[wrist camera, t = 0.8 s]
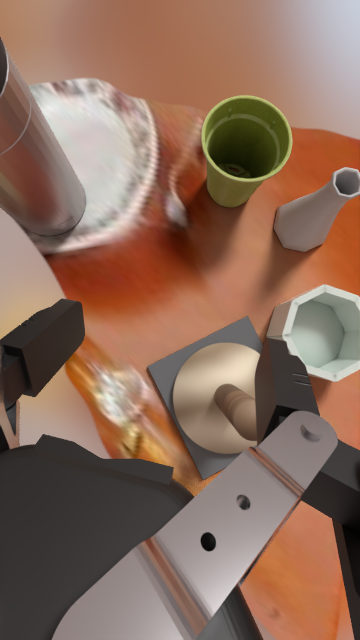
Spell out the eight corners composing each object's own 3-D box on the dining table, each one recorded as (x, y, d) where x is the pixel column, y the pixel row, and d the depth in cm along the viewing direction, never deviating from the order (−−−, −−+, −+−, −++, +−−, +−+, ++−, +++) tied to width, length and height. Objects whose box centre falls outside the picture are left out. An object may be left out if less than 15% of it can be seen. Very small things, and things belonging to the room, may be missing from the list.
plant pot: (186, 210, 36) (191, 168, 27) (203, 145, 37) (213, 84, 28) (255, 227, 36) (281, 191, 27) (270, 162, 37) (300, 107, 28)
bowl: (255, 316, 35) (269, 312, 30) (321, 282, 36) (346, 272, 31) (291, 387, 34) (312, 394, 30) (358, 351, 35) (390, 352, 30)
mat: (147, 366, 34) (147, 366, 34) (246, 316, 35) (247, 316, 35) (202, 477, 33) (202, 479, 33) (301, 423, 34) (303, 424, 34)
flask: (268, 202, 37) (306, 150, 27) (321, 198, 37) (377, 144, 27) (276, 255, 36) (318, 221, 26) (329, 250, 36) (390, 214, 26)
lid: (154, 372, 33) (148, 386, 23) (247, 324, 34) (284, 316, 23) (202, 470, 33) (220, 534, 22) (296, 419, 34) (357, 455, 23)
